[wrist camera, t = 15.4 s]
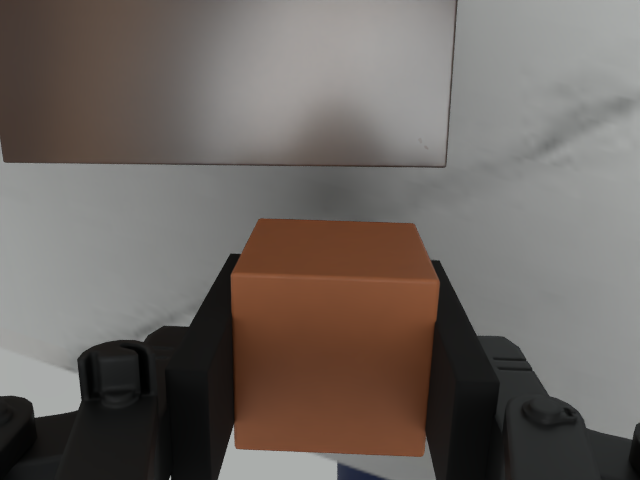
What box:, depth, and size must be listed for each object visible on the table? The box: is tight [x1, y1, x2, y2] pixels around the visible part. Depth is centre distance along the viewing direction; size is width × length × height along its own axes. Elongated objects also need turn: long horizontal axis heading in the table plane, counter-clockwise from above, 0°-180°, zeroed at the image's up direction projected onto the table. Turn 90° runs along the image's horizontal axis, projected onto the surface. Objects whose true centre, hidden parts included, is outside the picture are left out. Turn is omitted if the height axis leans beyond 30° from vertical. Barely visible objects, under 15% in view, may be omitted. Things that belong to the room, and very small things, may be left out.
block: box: [231, 218, 440, 457], centre depth 15 cm, size 4×4×4 cm
